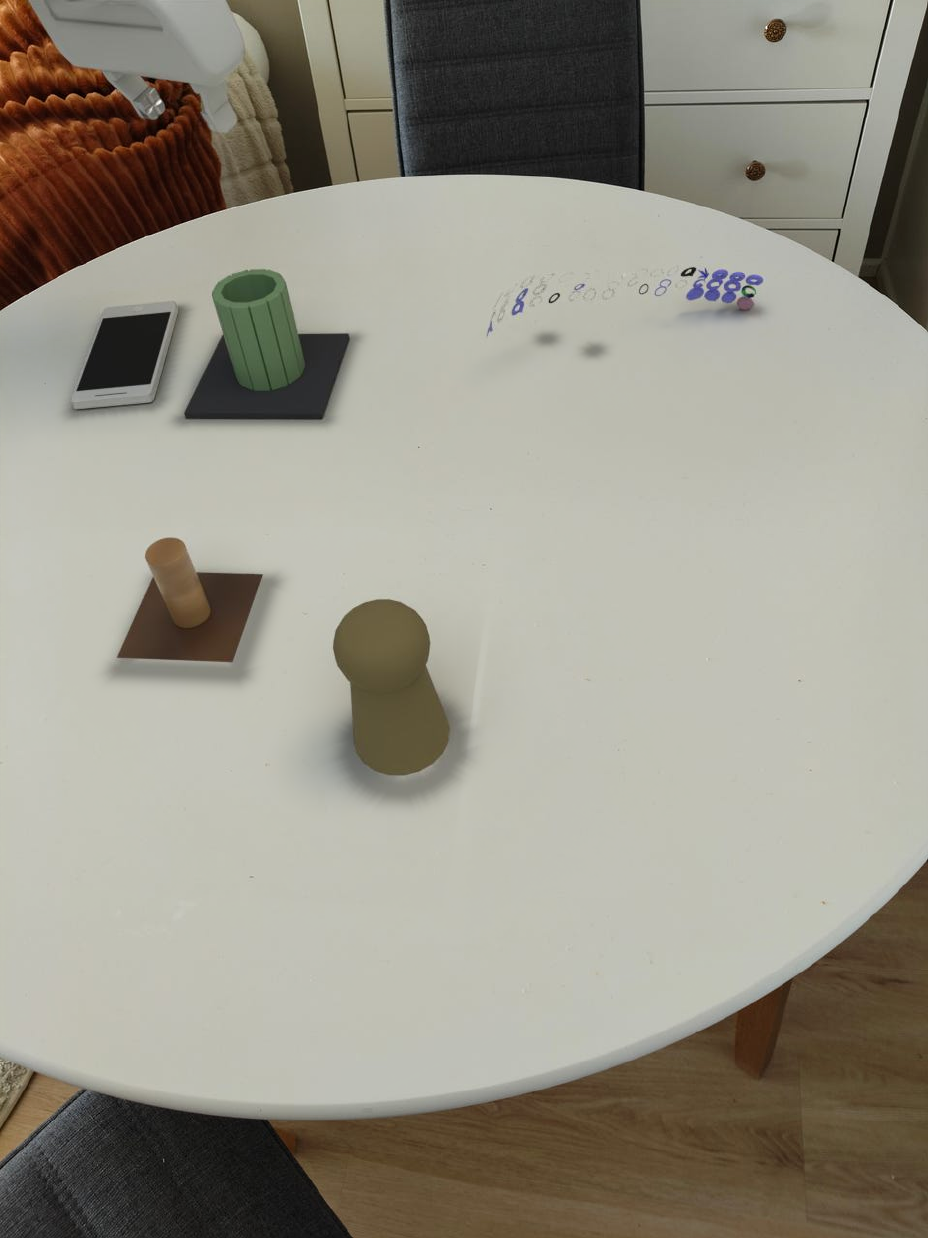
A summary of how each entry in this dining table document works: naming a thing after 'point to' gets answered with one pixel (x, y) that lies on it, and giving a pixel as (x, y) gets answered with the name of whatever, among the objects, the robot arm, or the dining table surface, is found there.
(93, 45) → the robot arm
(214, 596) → the peg stand
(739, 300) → the ring set
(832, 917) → the dining table surface
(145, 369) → the smartphone
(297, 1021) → the dining table surface
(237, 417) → the mat
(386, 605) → the olive brown pawn
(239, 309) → the green tube
